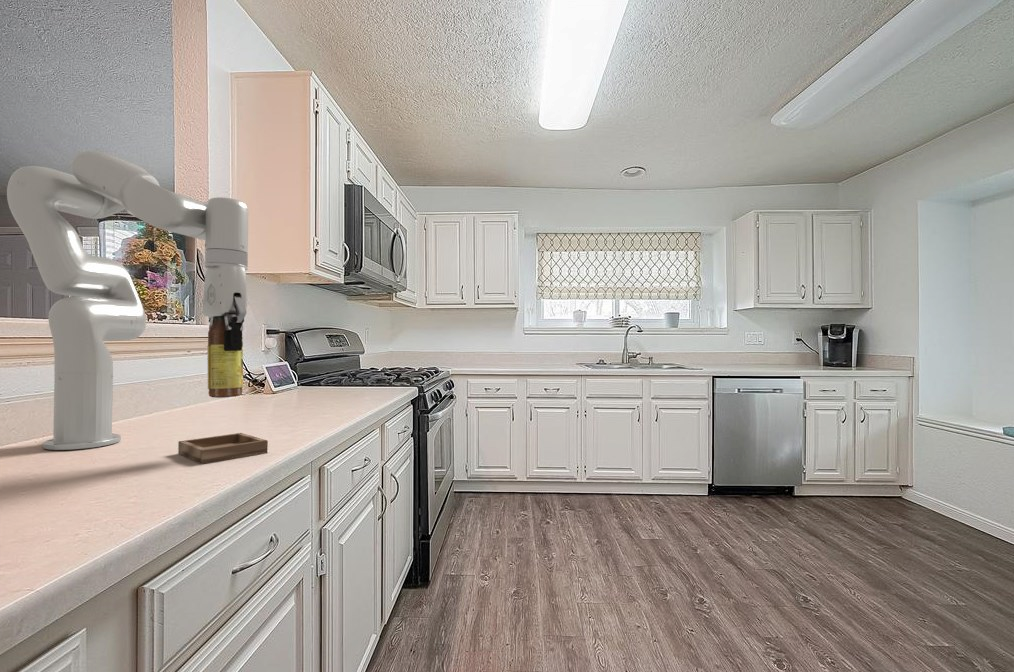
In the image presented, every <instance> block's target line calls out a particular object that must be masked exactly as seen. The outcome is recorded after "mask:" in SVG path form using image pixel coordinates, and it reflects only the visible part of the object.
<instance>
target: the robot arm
mask: <svg viewBox="0 0 1014 672" xmlns="http://www.w3.org/2000/svg"><path fill="white" fill-rule="evenodd" d="M70 168H71V172H72V174H70V173H68V172H64V171H61V170H57V169H55V168H51V167H45V166H40V165H28V166H22V167H20V168H18V169H16V170H15V171H14V172H13V173H12V174H11V175H10V178H9V180H8V183H7V189H6V199H7V204H8V207H9V210H10V212H11V215H12V217H13V218H14V221H15V222H16V224H17V225H18V227H19V228H20V230H21V231H22V233H23V235H24V237H25V238H26V241H27V243H28V246H29V249H30V252H31V253H32V256H33V259H34V261H35V264H36V266H37V269H38V272H39V274H40V277H41V279H42V281H43V284H44V285H45V287H46V288H47V289H48V290H49V291H51V292H52V293H53V294H58V295H60V296H61V295H63V296H68V297H63V298H60V299H59V300H57V301H56V302H55V303H54V304H53V305H52V306H51V307H50V309H49V312H48V324H49V328H50V329H49V330H50V334H51V338H52V343H53V344H52V345H53V353H54V354H53V355H54V360H53V361H54V365H53V366H54V370H53V371H54V377H53V378H54V383H53V386H54V387H53V435H52V436H53V438H50V439H47V440H45V441H44V442H42V448H43V449H46V450H50V451H67V450H69V451H70V450H72V451H74V450H83V449H92V448H99V447H103V446H108V445H114V444H116V443H119V442H120V441H121V437H122V435H120V434H118V433H113V390H114V389H113V387H114V384H113V383H114V364H113V363H114V360H113V357H112V355H111V352H110V351H109V349H108V347H107V346H106V344H105V342H113V341H114V342H125V341H132V340H135V339H138V338H139V337H140V336H141V335H142V334H144V331H145V329H146V327H147V317H146V312H145V309H144V307H143V304H142V301H141V299H140V296H139V294H138V291H137V289H136V286H135V283H134V281H133V279H132V276H131V274H130V273H129V271H128V270H127V268H125V266H124V265H123V264H122V263H120V262H118V261H117V260H114V259H112V258H108V257H104V256H98V255H92V254H91V253H88V252H87V251H86V249H85V247H84V246H83V243H82V240H81V239H80V236H79V234H78V232H77V231H76V230H75V228H74V227H73V225H71V224H70V223H69V222H68V220H66V219H65V218H64V217H63V216H62V215H61V214H60V213H59V212H62V213H67V214H69V215H74V216H78V217H82V218H86V219H87V218H88V219H94V220H97V219H98V220H99V219H105V218H107V217H110V216H112V215H113V216H114V215H115V214H117V213H120V212H122V211H124V210H125V211H126V212H127V213H128V214H130V215H132V216H133V217H135V218H137V219H139V220H141V221H143V222H144V223H146V224H149V225H151V226H153V227H155V228H158V229H160V230H163V231H167V232H171V233H174V234H179V235H182V236H186V237H189V238H193V239H198V240H202V241H204V267H205V268H206V272H205V276H204V282H203V283H204V285H203V297H202V314H203V316H205V317H208V323H209V325H208V330H209V329H210V328H211V326H212V325H213V323H214V321H215V320H214V317H215V316H222V315H224V318H225V324H226V330H224V350H225V351H241V350H242V337H243V330H244V322H245V317H246V315H247V311H248V310H247V307H248V291H247V290H248V288H247V285H248V284H247V273H246V271H248V265H249V264H248V261H249V208H248V206H247V204H246V203H244V202H243V201H241V200H238V199H235V198H231V197H224V196H223V197H219V196H217V197H211V198H209V199H208V200H207V201H206V202H202V201H199V200H197V199H195V198H191V197H188V196H185V195H183V194H179V193H178V192H173V191H171V190H169V189H167V188H164V187H162V186H160V183H159V182H158V180H157V178H156V177H154V175H153V174H151V173H149V172H148V171H147V170H145V168H143V167H141V166H139V165H137V164H135V163H132V162H130V161H127V160H125V159H122V158H120V157H117V156H114V155H111V154H110V153H109V154H108V153H106V152H104V151H98V150H85V151H82V152H80V153H77V154H76V155H75V156H74V157H73V158H72V161H71V164H70ZM229 313H236V314H229ZM230 319H232V321H230Z"/></svg>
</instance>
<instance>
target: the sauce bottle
mask: <svg viewBox="0 0 1014 672" xmlns="http://www.w3.org/2000/svg"><path fill="white" fill-rule="evenodd" d="M229 314H236V313H229ZM214 320H215V321H214V323H213V325H212V326H211V328H210V329H209V328H208V332H207V390H208V396H209V397H210V398H215V399H217V398H219V399H220V398H221V399H223V398H224V399H225V398H231V397H232V398H233V397H235V398H236V397H239V396H242V395H243V387H244V340H243V339H244V337H243V336H242V350H241V351H225V350H224V330H226V324H225V318H224V315H222V316H215V317H214ZM230 321H232V319H230Z"/></svg>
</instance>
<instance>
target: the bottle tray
mask: <svg viewBox="0 0 1014 672" xmlns="http://www.w3.org/2000/svg"><path fill="white" fill-rule="evenodd" d="M177 449H178V452H177V454H178V455H180V456H183V457H185V458H187V459H189V460H191V461H194V462H196V463H199V464H202V465H205V464H210V463H211V464H212V463H216V462H217V463H218V462H222V461H223V462H224V461H229V460H235V459H241V458H245V457H251V456H257V455H263V454H267V453H268V440H267V439H263V438H260V437H257V436H253V435H250V434H246V433H242V432H238V433H230V434H223V435H221V434H220V435H216V436H209V437H199V438H192V439H186V440H178V448H177Z"/></svg>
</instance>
